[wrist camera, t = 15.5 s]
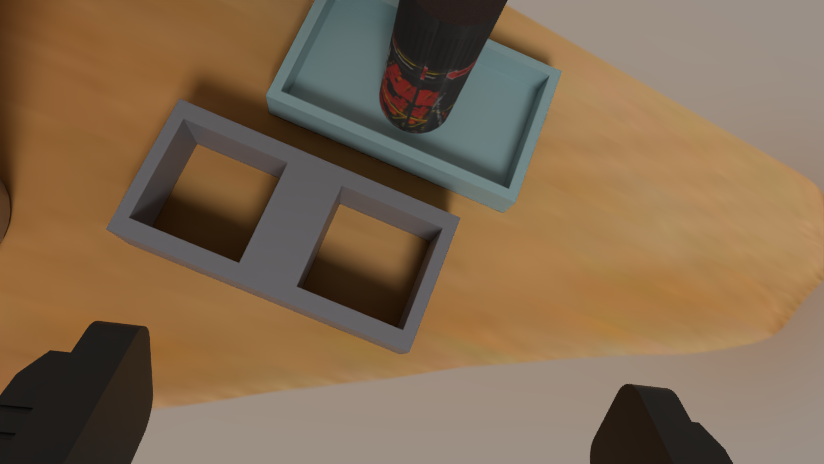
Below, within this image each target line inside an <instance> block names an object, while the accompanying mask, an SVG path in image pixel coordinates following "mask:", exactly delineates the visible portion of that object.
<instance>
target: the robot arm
mask: <svg viewBox="0 0 824 464" xmlns="http://www.w3.org/2000/svg"><path fill="white" fill-rule="evenodd" d="M9 218H10V200H9V196H8V193H7V190H6V187H5V185H4V184H3V182H2V181H1V179H0V242H1V241H2V239H3V237H4V235H5V232H6V230H7V227H8V224H9ZM152 401H153V385H152V368H151V352H150V336H149V331H148V328H147V327H145V326H138V325H129V324H121V323H112V322H103V321H94V322H93V323H92V324H91V325H89V327H88V328H87V329H86V331H85V332H84V334H83V335H82V337H81V338H80V340H79V341H78V343H77V344H76V346H75V347H74V349H73V350H72V352H71V353H70V352H61V351H51V350H50V351H49V352H47V353H46V354H44V355H43V356H41V357H40V358H39V359H37V360H36V361H34V362H33V363H31V364H30V365H29V366H27V367H26V368H24V369H23V370H21V371H20V372H19V373H17V374H16V375H15V377H14V378H13V379H12V381H11V382H10V383H9V384H8V386H7V387H6V388H5V390H4V391H3V392H2V394H1V395H0V464H131V462H132V460H133V457H134V455H135V453H136V451H137V449H138V446H139V444H140V442H141V440H142V437H143V435H144V433H145V430H146V427H147V424H148V421H149V417H150V413H151V408H152ZM590 464H733V462H732V461H731V459H730V457H729V456H728V454H727V452H726V450H725V449H724V448H723V447H722V446H721V445H720V444H719V443H718V442H717V441H716V440H715V439H714V438H713V437H712V436H711V435H710V434H709V433H708V432H707V431H706V430H705V429H704V427H703V426H702V425H700V423H696V422H691V420H690V418H689V416H688V414H687V413H686V411H685V409H684V407H683V405H682V404H681V402H680V400H679V398H678V397H677V395H676V394H675V393H674V392H673V391H672V390H670V389H668V388H659V387H651V386H642V385H633V384H626V385H624V386H622V387H621V388H620V390H619V391H618V393H617V395H616V397H615V399H614V401H613V403H612V405H611V407H610V409H609V410H608V412H607V414H606V416H605V418H604V420H603V422H602V424H601V426H600V428H599V430H598V431H597V433H596V435H595V437H594V439H593V442H592V445H591V451H590Z"/></svg>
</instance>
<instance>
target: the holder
mask: <svg viewBox="0 0 824 464" xmlns="http://www.w3.org/2000/svg"><path fill="white" fill-rule="evenodd" d="M197 144H199V145H202V146H204V147H207V148H209V149H211V150H214V151H216V152H218V153H221V154H223V155H226V156H228V157H230V158H233V159H235V160H238V161H240V162H242V163H245V164H247V165H249V166H252V167H254V168H257V169H259V170H261V171H264V172H266V173H268V174H271V175H273V176H276V177H278V178H280V180H279V182H278V184H277V186H276V188H275V190H274V192H273V194H272V196H271V198H270V201H269V203H268V205H267V207H266V209H265V211H264V213H263V215H262V217H261V219H260V221H259V223H258V225H257V227H256V229H255V231H254V234H253V236H252V238H251V240H250V242H249V244H248V246H247V248H246V250H245V252H244V254H243V256H242V258H241V260H240V262H239V263H238V262H235V261H233V260H230V259H228V258H226V257H223V256H221V255H218V254H216V253H213V252H211V251H208V250H206V249H204V248H201V247H199V246H196V245H194V244H191V243H189V242H187V241H184V240H182V239H179V238H177V237H174V236H172V235H169V234H167V233H165V232H162V231H160V230H157V229H155V228H152V226H153V224H154V223H155V221H156V219H157V217H158V215H159V213H160V211H161V210H162V208H163V206H164V204H165V202H166V200H167V198H168V197H169V195H170V193H171V191H172V189H173V187H174V185H175V184H176V182H177V180H178V178H179V176H180V174H181V172H182V171H183V169H184V167H185V165H186V163H187V161H188V160H189V158H190V156H191V154H192V152H193V150H194V148H195V147H196V145H197ZM339 204H342V205H345V206H347V207H349V208H352V209H354V210H356V211H359V212H361V213H364V214H366V215H368V216H371V217H373V218H376V219H378V220H380V221H383V222H385V223H387V224H390V225H392V226H395V227H397V228H399V229H402V230H404V231H406V232H409V233H411V234H414V235H416V236H418V237H421V238H423V239H426V240H428V241H430V245H429V248H428V250H427V253H426V255H425V258H424V260H423V263H422V266H421V268H420V271H419V273H418V276H417V278H416V281H415V283H414V286H413V289H412V291H411V294H410V296H409V299H408V301H407V304H406V307H405V309H404V312H403V314H402V317H401V319H400V322H399V324H398V327H397V328H396V327H394V326H392V325H389V324H387V323H384V322H382V321H379V320H377V319H374V318H372V317H370V316H367V315H365V314H362V313H360V312H357V311H355V310H352V309H350V308H348V307H345V306H343V305H340V304H338V303H335V302H333V301H330V300H328V299H326V298H323V297H321V296H318V295H316V294H313V293H311V292H309V291H306V290H304V289H302V287H303V284H304V282H305V280H306V278H307V275H308V273H309V271H310V269H311V266H312V264H313V262H314V260H315V257H316V255H317V253H318V251H319V249H320V246H321V244H322V242H323V240H324V237H325V235H326V233H327V231H328V228H329V226H330V224H331V222H332V219H333V217H334V215H335V213H336V210H337V208H338V206H339ZM459 220H460V217H457V216H455V215H452V214H450V213H448V212H445V211H443V210H441V209H438V208H436V207H434V206H431V205H429V204H427V203H424V202H422V201H419V200H417V199H415V198H412V197H410V196H408V195H405V194H403V193H401V192H398V191H396V190H394V189H391V188H389V187H386V186H384V185H382V184H379V183H377V182H375V181H372V180H370V179H368V178H365V177H363V176H361V175H358V174H356V173H353V172H351V171H349V170H346V169H344V168H342V167H339V166H337V165H335V164H332V163H330V162H328V161H325V160H323V159H320V158H318V157H316V156H313V155H311V154H309V153H306V152H304V151H302V150H299V149H297V148H295V147H292V146H290V145H287V144H285V143H283V142H280V141H278V140H276V139H273V138H271V137H269V136H266V135H264V134H261V133H259V132H257V131H254V130H252V129H250V128H247V127H245V126H243V125H240V124H238V123H236V122H233V121H231V120H228V119H226V118H224V117H221V116H219V115H217V114H214V113H212V112H210V111H207V110H205V109H203V108H200V107H198V106H195V105H193V104H191V103H188V102H186V101H184V100H181V99H179V100H178V102H177V104H176V106H175V107H174V109H173V111H172V113H171V114H170V116H169V118H168V120H167V122H166V123H165V125H164V127H163V129H162V130H161V132H160V134H159V136H158V138H157V139H156V141H155V143H154V145H153V146H152V148H151V150H150V152H149V154H148V155H147V157H146V159H145V161H144V162H143V164H142V166H141V168H140V170H139V171H138V173H137V175H136V177H135V178H134V180H133V182H132V184H131V186H130V187H129V189H128V191H127V193H126V194H125V196H124V198H123V200H122V201H121V203H120V205H119V207H118V209H117V210H116V212H115V214H114V216H113V217H112V219H111V221H110V223H109V225H108V226H107V228H106V229H107V230H108V231H110V232H111V233H113V234H114V235H116V236H117V237H119V238H121V239H122V240H124V241H125V242H127V243H128V244H130V245H133V246H135V247H138V248H140V249H143V250H145V251H148V252H150V253H153V254H155V255H157V256H160V257H162V258H165V259H167V260H170V261H172V262H175V263H177V264H180V265H182V266H184V267H187V268H189V269H192V270H194V271H197V272H199V273H202V274H204V275H207V276H209V277H211V278H214V279H216V280H219V281H221V282H224V283H226V284H229V285H231V286H234V287H236V288H238V289H241V290H243V291H246V292H248V293H251V294H253V295H256V296H258V297H261V298H263V299H266V300H268V301H270V302H273V303H275V304H278V305H280V306H283V307H285V308H288V309H290V310H293V311H295V312H297V313H300V314H302V315H305V316H307V317H310V318H312V319H315V320H317V321H320V322H322V323H324V324H327V325H329V326H332V327H334V328H337V329H339V330H342V331H344V332H347V333H349V334H351V335H354V336H356V337H359V338H361V339H364V340H366V341H369V342H371V343H374V344H376V345H378V346H381V347H383V348H386V349H388V350H391V351H393V352H396V353H398V354H404V353H409V352H410V349H411V346H412V344H413V341H414V339H415V336H416V333H417V331H418V328H419V325H420V323H421V320H422V317H423V315H424V312H425V310H426V307H427V304H428V302H429V299H430V296H431V294H432V291H433V288H434V286H435V283H436V281H437V278H438V275H439V273H440V270H441V267H442V265H443V262H444V260H445V257H446V254H447V252H448V249H449V246H450V244H451V241H452V238H453V236H454V233H455V231H456V228H457V225H458V223H459Z"/></svg>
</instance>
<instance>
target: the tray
mask: <svg viewBox="0 0 824 464" xmlns="http://www.w3.org/2000/svg"><path fill="white" fill-rule="evenodd" d="M398 4H399V0H315V1H314V3H313V5H312V7H311V9H310V11H309V13H308V15H307V17H306V19H305V21H304V23H303V24H302V26H301V28H300V30H299V32H298V34H297V36H296V38H295V40H294V42H293V44H292V46H291V48H290V50H289V52H288V54H287V56H286V57H285V59H284V61H283V63H282V65H281V67H280V69H279V71H278V73H277V75H276V77H275V79H274V81H273V83H272V85H271V87H270V88H269V90H268V92H267V94H266V99H267V104H268V109H269V113H270V114H272V115H275V116H277V117H280V118H282V119H284V120H287V121H289V122H291V123H294V124H296V125H298V126H301V127H303V128H305V129H308V130H310V131H312V132H315V133H317V134H319V135H322V136H324V137H326V138H329V139H331V140H333V141H336V142H338V143H340V144H343V145H345V146H348V147H350V148H352V149H355V150H357V151H359V152H362V153H364V154H366V155H369V156H371V157H373V158H376V159H378V160H380V161H383V162H385V163H387V164H390V165H392V166H394V167H397V168H399V169H401V170H404V171H406V172H408V173H411V174H413V175H416V176H418V177H420V178H423V179H425V180H427V181H430V182H432V183H434V184H437V185H439V186H441V187H444V188H446V189H448V190H451V191H453V192H455V193H458V194H460V195H462V196H465V197H467V198H469V199H472V200H474V201H476V202H479V203H481V204H483V205H486V206H488V207H491V208H493V209H495V210H498V211H500V212H502V213H504V212H505V211H506V210H507V209H508V208H509V207H511V206H512V205H513V204H514V203H515V202H516V199H517V196H518V194H519V191H520V188H521V185H522V182H523V179H524V177H525V174H526V171H527V168H528V165H529V163H530V160H531V157H532V154H533V151H534V148H535V146H536V143H537V140H538V137H539V134H540V131H541V129H542V126H543V123H544V120H545V117H546V114H547V112H548V109H549V106H550V103H551V100H552V97H553V95H554V92H555V89H556V86H557V83H558V80H559V78H560V75H561V72H562V71H560V70H558V69H555V68H553V67H551V66H549V65H546V64H544V63H542V62H540V61H537V60H535V59H533V58H531V57H528V56H526V55H524V54H522V53H519V52H517V51H515V50H513V49H510V48H508V47H506V46H504V45H501V44H499V43H497V42H495V41H492V40H490V39H488V40H487V42H486V43H485V45H484V47H483V49H482V51H481V53H480V55H479V57H478V59H477V61H476V63H475V65H474V67H473V69H472V71H471V73H470V75H469V77H468V79H467V81H466V83H465V85H464V87H463V89H462V91H461V93H460V94H459V96H458V98H457V100H456V102H455V104H454V106H453V108H452V110H451V112H450V114H449V116H448V117H447V119H446V121H445V122H444V123H443V124H442V125H441V126H440V127H439V128H437V129H435V130H433V131H431V132H427V133H422V134H418V133H409V132H406V131H403V130H401V129H399V128H397V127H396V126H394V125H393V124H392V123H391V122H390V121H389V120H388V119H387V118H386V116H385V115H384V113H383V112H382V109H381V106H380V102H379V92H380V88H381V83H382V78H383V74H384V69H385V64H386V60H387V55H388V50H389V46H390V41H391V37H392V32H393V27H394V23H395V18H396V13H397V9H398Z"/></svg>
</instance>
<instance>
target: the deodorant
mask: <svg viewBox="0 0 824 464" xmlns="http://www.w3.org/2000/svg"><path fill="white" fill-rule="evenodd" d="M506 2H507V0H399V4H398V9H397V13H396V18H395V23H394V27H393V32H392V37H391V41H390V46H389V50H388V55H387V60H386V64H385V69H384V74H383V78H382V83H381V88H380V92H379V102H380V106H381V109H382V112H383V113H384V115H385V116H386V118H387V119H388V120H389V121H390V122H391V123H392V124H393V125H394V126H396V127H397V128H399V129H401V130H403V131H406V132H409V133H418V134H422V133H427V132H431V131H433V130H435V129H437V128H439V127H440V126H441V125H442V124H443V123H444V122H445V121H446V119H447V117H448V116H449V114H450V112H451V110H452V108H453V106H454V104H455V102H456V100H457V98H458V96H459V94H460V93H461V91H462V89H463V87H464V85H465V83H466V81H467V79H468V77H469V75H470V73H471V71H472V69H473V67H474V65H475V63H476V61H477V59H478V57H479V55H480V53H481V51H482V49H483V47H484V45H485V43H486V42H487V40H488V38H489V36H490V34H491V32H492V30H493V28H494V26H495V24H496V22H497V20H498V18H499V16H500V14H501V12H502V10H503V8H504V6H505V4H506Z"/></svg>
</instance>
